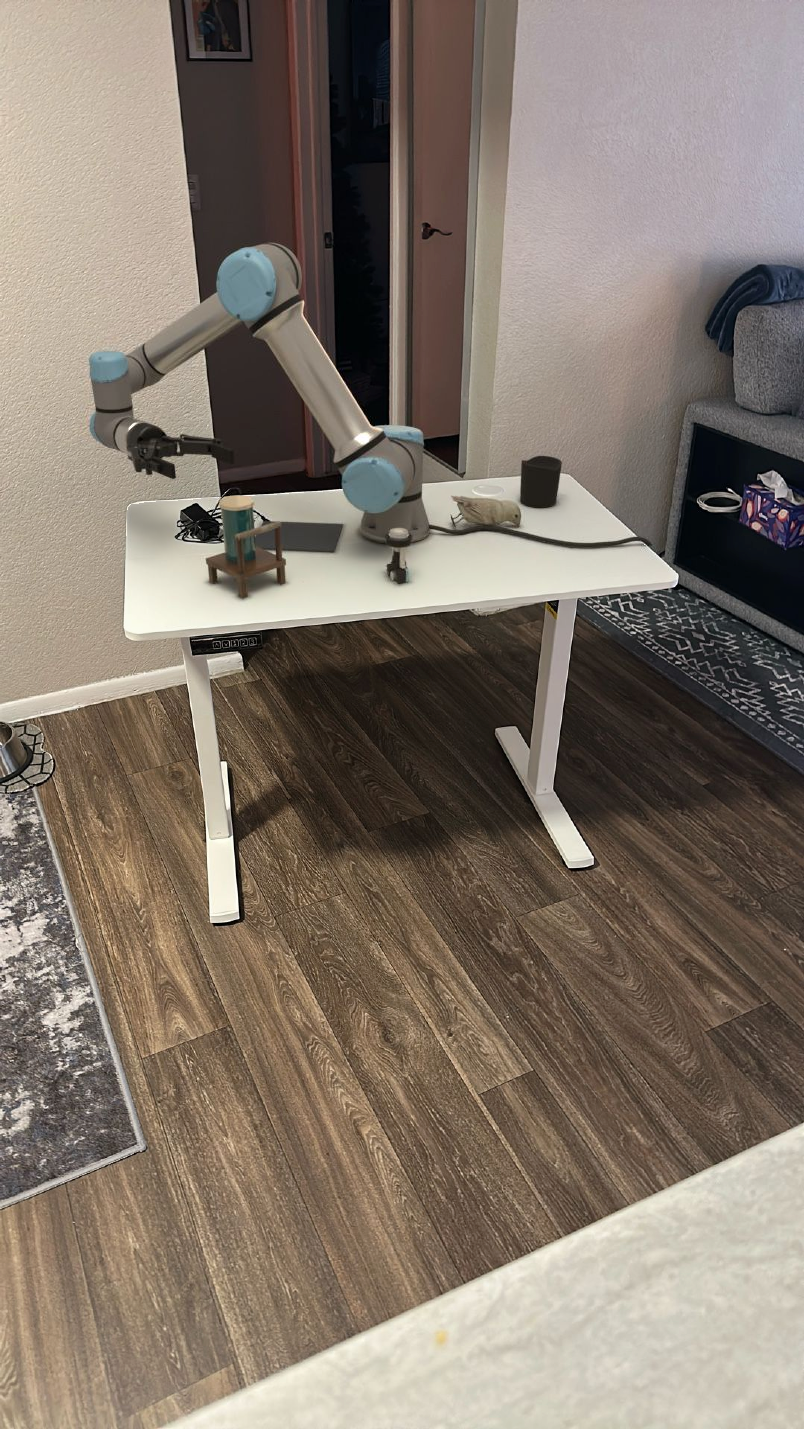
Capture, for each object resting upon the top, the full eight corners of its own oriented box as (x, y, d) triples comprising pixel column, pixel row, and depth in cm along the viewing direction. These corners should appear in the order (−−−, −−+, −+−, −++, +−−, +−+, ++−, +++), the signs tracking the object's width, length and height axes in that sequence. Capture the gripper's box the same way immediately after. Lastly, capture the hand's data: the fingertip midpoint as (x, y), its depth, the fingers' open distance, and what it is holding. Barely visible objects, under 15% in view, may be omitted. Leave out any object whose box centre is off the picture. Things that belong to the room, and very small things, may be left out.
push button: (376, 574, 191) (376, 527, 186) (398, 569, 193) (399, 522, 188) (394, 586, 186) (394, 538, 181) (416, 580, 189) (417, 532, 183)
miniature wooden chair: (207, 582, 187) (201, 520, 180) (252, 566, 193) (248, 507, 187) (242, 599, 180) (237, 536, 174) (287, 582, 187) (283, 521, 180)
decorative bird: (522, 531, 213) (524, 498, 209) (450, 532, 212) (452, 500, 208) (517, 522, 217) (520, 490, 213) (448, 523, 216) (449, 491, 212)
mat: (342, 525, 214) (342, 523, 214) (334, 552, 201) (333, 550, 200) (263, 522, 215) (263, 521, 215) (249, 549, 201) (249, 547, 201)
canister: (260, 550, 188) (256, 495, 182) (254, 563, 182) (249, 507, 176) (228, 549, 188) (223, 494, 182) (221, 562, 183) (215, 506, 177)
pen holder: (559, 509, 225) (564, 467, 220) (520, 508, 225) (523, 467, 220) (554, 496, 233) (559, 455, 228) (516, 495, 233) (519, 455, 228)
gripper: (195, 447, 205) (256, 470, 192) (90, 471, 189) (149, 497, 177) (191, 412, 201) (254, 432, 188) (84, 433, 185) (144, 457, 173)
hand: (203, 464), depth 182 cm, fingers open, 13 cm apart
